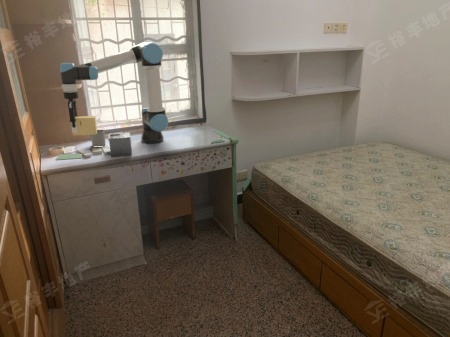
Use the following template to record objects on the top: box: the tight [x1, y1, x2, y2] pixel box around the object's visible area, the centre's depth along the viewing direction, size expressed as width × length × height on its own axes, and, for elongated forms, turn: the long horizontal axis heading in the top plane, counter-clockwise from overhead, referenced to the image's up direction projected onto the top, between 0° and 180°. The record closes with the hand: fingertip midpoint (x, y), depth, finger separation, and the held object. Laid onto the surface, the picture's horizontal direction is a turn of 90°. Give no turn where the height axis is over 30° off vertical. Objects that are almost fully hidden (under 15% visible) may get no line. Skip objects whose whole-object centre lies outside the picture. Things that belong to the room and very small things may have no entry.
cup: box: [90, 129, 106, 147], centre depth 233 cm, size 8×8×10 cm
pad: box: [55, 152, 83, 161], centre depth 213 cm, size 14×9×1 cm, turn 104°
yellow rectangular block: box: [72, 115, 98, 136], centre depth 209 cm, size 13×5×10 cm, turn 104°
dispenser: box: [107, 132, 133, 158], centre depth 218 cm, size 13×12×12 cm
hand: (75, 131), depth 209 cm, fingers closed on yellow rectangular block, 5 cm apart
